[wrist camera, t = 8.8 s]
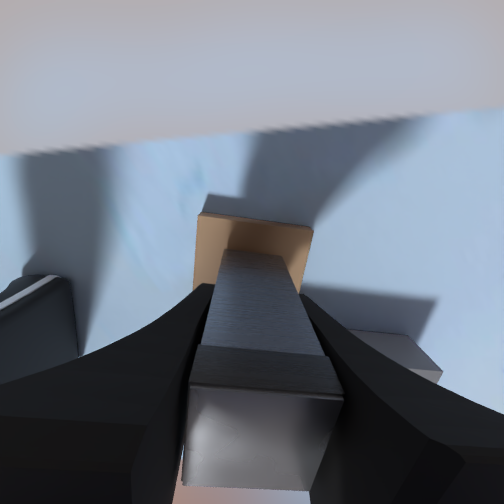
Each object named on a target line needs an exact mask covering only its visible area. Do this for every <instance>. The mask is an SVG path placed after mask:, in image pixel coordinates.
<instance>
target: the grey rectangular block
mask: <svg viewBox="0 0 504 504" xmlns="http://www.w3.org/2000/svg"><path fill="white" fill-rule="evenodd" d="M344 397H345V392H344V390H343V388H342V386H341V383H340V381H339V379H338V377H337V374H336V372H335V370H334V368H333V366H332V363H331V361H330V359H329V357H328V356H325V355H324V352H323V350H322V348H321V345H320V343H319V341H318V338H317V336H316V334H315V331H314V329H313V327H312V324H311V322H310V320H309V318H308V315H307V313H306V311H305V308H304V306H303V304H302V301H301V299H300V297H299V294H298V292H297V290H296V287H295V285H294V283H293V280H292V278H291V276H290V273H289V271H288V269H287V266H286V264H285V262H284V259H283V257H282V256H279V255H271V254H263V253H255V252H248V251H240V250H232V249H224V251H223V255H222V259H221V263H220V267H219V272H218V276H217V280H216V284H215V288H214V292H213V296H212V300H211V304H210V308H209V313H208V317H207V321H206V325H205V329H204V333H203V337H202V341H201V344H198V347H197V351H196V355H195V359H194V363H193V367H192V370H191V374H190V378H189V383H188V397H187V410H186V424H185V437H184V451H183V464H182V478H181V481H183V485H184V486H206V487H229V488H250V489H272V490H294V491H310V489H311V486H312V484H313V481H314V479H315V476H316V473H317V471H318V468H319V465H320V463H321V460H322V458H323V455H324V452H325V450H326V447H327V445H328V442H329V439H330V437H331V434H332V431H333V429H334V426H335V424H336V421H337V418H338V416H339V413H340V411H341V408H342V405H343V403H344Z"/></svg>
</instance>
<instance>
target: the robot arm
mask: <svg viewBox="0 0 504 504" xmlns="http://www.w3.org/2000/svg"><path fill="white" fill-rule="evenodd" d="M214 288H215V284H208V283H201V284H200V285H199V286H198V287H197V288H196V289H194V290H193V291H192V292H191V293H190V294H189V295H188V296H187V297H186V298H184V299H183V300H182V301H181V302H179V303H178V304H177V305H176V306H175V307H173V308H172V309H171V310H169V311H168V312H166V313H165V314H164V315H162V316H161V317H159V318H158V319H156V320H155V321H153V322H152V323H150V324H148V325H147V326H145V327H143V328H141V329H140V330H138V331H136V332H134V333H132V334H130V335H128V336H126V337H124V338H122V339H120V340H118V341H116V342H114V343H112V344H110V345H108V346H106V347H103V348H101V349H99V350H96V351H94V352H92V353H89V354H87V355H84V356H82V357H79V358H77V359H74V360H72V361H69V362H66V363H64V364H61V365H58V366H55V367H53V368H50V369H47V370H44V371H41V372H38V373H35V374H31V375H28V376H25V377H22V378H19V379H16V380H13V381H10V382H7V383H4V384H1V385H0V504H172V501H173V496H174V491H175V486H176V480H177V476H178V471H179V466H180V461H181V455H182V450H183V445H184V437H185V424H186V410H187V397H188V383H189V378H190V374H191V370H192V367H193V363H194V359H195V355H196V351H197V347H198V344H201V341H202V337H203V333H204V329H205V325H206V321H207V317H208V313H209V308H210V304H211V300H212V296H213V292H214ZM299 297H300V299H301V301H302V304H303V306H304V308H305V311H306V313H307V315H308V318H309V320H310V322H311V324H312V327H313V329H314V331H315V334H316V336H317V338H318V341H319V343H320V345H321V348H322V350H323V352H324V355H325V356H328V357H329V359H330V361H331V363H332V366H333V368H334V370H335V372H336V374H337V377H338V379H339V381H340V383H341V386H342V388H343V390H344V392H345V397H344V403H343V405H342V408H341V411H340V413H339V416H338V418H337V421H336V424H335V426H334V429H333V431H332V434H331V437H330V439H329V442H328V445H327V447H326V450H325V452H324V455H323V458H322V460H321V463H320V465H319V468H318V471H317V473H316V476H315V479H314V481H313V484H312V486H311V489H310V491H309V494H310V502H311V504H504V414H501V413H499V412H496V411H494V410H492V409H489V408H487V407H485V406H482V405H480V404H477V403H475V402H473V401H471V400H469V399H466V398H464V397H462V396H460V395H458V394H456V393H454V392H452V391H450V390H448V389H445V388H443V387H441V386H439V385H437V384H435V383H433V382H431V381H429V380H427V379H426V378H424V377H422V376H420V375H418V374H416V373H414V372H413V371H411V370H409V369H407V368H405V367H404V366H402V365H400V364H398V363H397V362H395V361H393V360H391V359H390V358H388V357H386V356H385V355H383V354H382V353H380V352H379V351H377V350H376V349H374V348H372V347H371V346H369V345H368V344H366V343H365V342H363V341H362V340H361V339H359V338H358V337H357V336H355V335H354V334H352V333H351V332H350V331H348V330H347V329H346V328H344V327H343V326H342V325H341V324H339V323H338V322H337V321H336V320H334V319H333V318H332V317H331V316H330V315H328V314H327V313H326V312H325V311H324V310H322V309H321V308H320V307H319V306H318V305H317V304H315V303H314V302H313V301H312V300H311V299H309V298H308V297H307V296H305V295H304V294H299Z"/></svg>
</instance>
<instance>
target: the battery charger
mask: <svg viewBox="0 0 504 504" xmlns="http://www.w3.org/2000/svg"><path fill="white" fill-rule="evenodd" d="M77 358H78V347H77V337H76V326H75V317H74V309H73V301H72V294H71V287H70V282H69V281H68V280H67V279H65V278H60V277H59V276H57V275H48V276H44V275H28V276H24V277H20V278H18V279H16V280H14V281H12V282H11V283H10V284H9V286H8V287H7V288H6V289H5V290H4V291H3V292H1V293H0V385H1V384H4V383H7V382H10V381H13V380H16V379H19V378H22V377H25V376H28V375H31V374H35V373H38V372H41V371H44V370H47V369H50V368H53V367H55V366H58V365H61V364H64V363H66V362H69V361H72V360H74V359H77Z"/></svg>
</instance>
